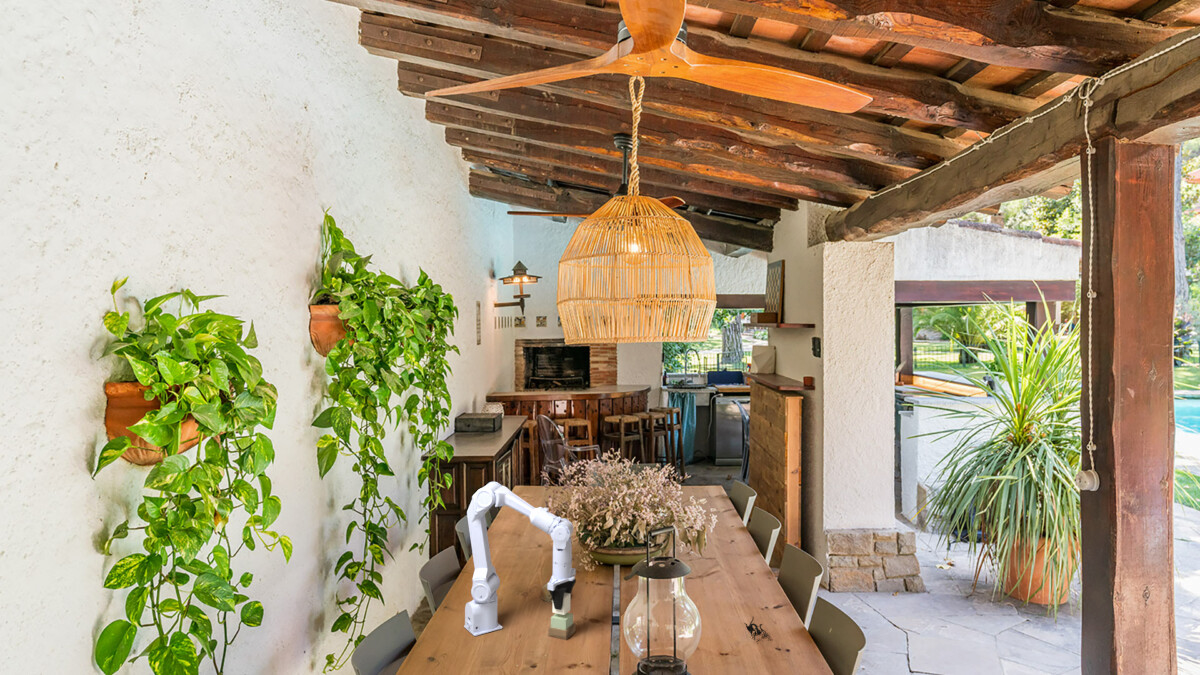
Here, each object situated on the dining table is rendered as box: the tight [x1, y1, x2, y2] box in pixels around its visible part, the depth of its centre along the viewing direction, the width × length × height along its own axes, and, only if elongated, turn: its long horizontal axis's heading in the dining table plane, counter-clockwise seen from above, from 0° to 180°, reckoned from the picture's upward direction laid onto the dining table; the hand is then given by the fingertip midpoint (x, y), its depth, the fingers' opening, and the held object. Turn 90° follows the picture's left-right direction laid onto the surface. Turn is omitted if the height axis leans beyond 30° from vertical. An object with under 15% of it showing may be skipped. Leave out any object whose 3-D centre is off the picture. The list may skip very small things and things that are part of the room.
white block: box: [551, 593, 571, 615], centre depth 199 cm, size 4×4×5 cm
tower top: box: [550, 612, 574, 630], centre depth 199 cm, size 5×5×3 cm
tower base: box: [547, 622, 576, 641], centre depth 199 cm, size 6×6×3 cm
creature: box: [743, 616, 771, 641], centre depth 198 cm, size 8×5×8 cm
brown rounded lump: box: [539, 580, 553, 604], centre depth 227 cm, size 10×10×8 cm
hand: (561, 606), depth 199 cm, fingers closed on white block, 4 cm apart
